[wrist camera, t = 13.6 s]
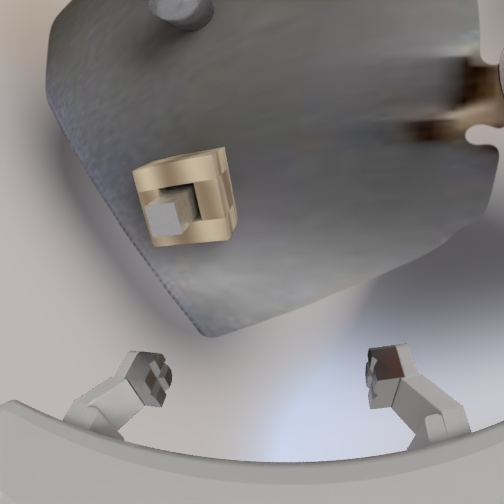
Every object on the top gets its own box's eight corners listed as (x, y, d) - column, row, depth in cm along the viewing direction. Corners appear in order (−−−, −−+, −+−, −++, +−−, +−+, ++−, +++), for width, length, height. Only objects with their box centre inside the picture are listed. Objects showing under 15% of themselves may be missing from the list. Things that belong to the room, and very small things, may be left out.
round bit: (210, -10, 26) (193, -30, 19) (216, 24, 28) (200, 9, 22) (169, 2, 27) (146, -13, 20) (175, 36, 29) (151, 24, 23)
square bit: (202, 177, 37) (173, 202, 28) (208, 202, 38) (182, 234, 29) (178, 181, 37) (144, 207, 28) (184, 205, 39) (152, 237, 30)
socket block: (224, 146, 35) (212, 154, 30) (238, 220, 40) (229, 239, 35) (153, 161, 37) (132, 171, 32) (170, 228, 42) (153, 247, 37)
